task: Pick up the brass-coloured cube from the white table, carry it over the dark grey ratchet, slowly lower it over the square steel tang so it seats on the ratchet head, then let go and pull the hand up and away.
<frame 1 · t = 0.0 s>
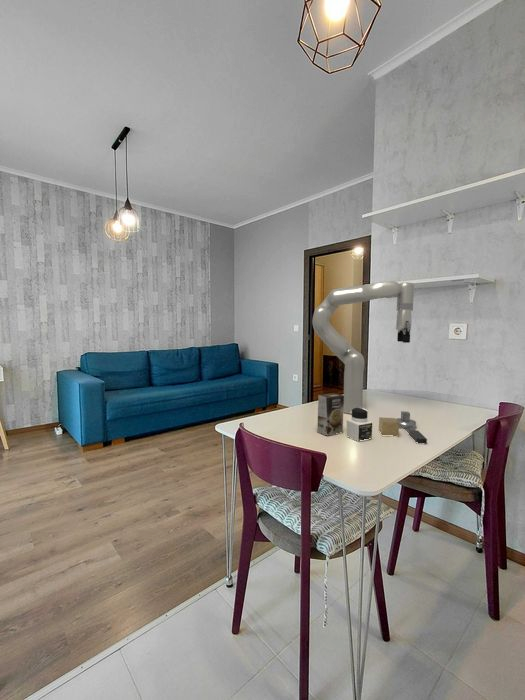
hand: (403, 342, 168), 37 cm above the table, tool pointing down, fingers open, 9 cm apart
brass-coloured cube: (388, 433, 139), on the table
coffee box: (330, 433, 140), on the table
medicine bottle: (358, 438, 134), on the table
ratchet: (404, 426, 150), on the table
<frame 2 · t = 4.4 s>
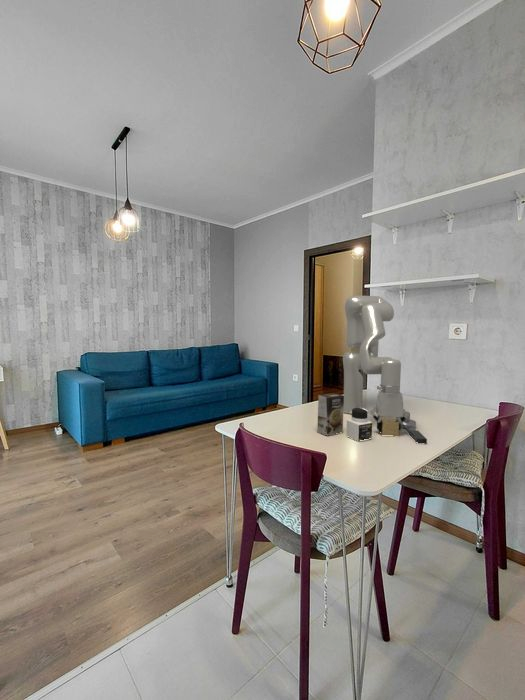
hand: (388, 431, 139), 1 cm above the table, tool pointing down, fingers closed on brass-coloured cube, 6 cm apart
brass-coloured cube: (388, 433, 139), on the table, touching gripper
everything else where it was.
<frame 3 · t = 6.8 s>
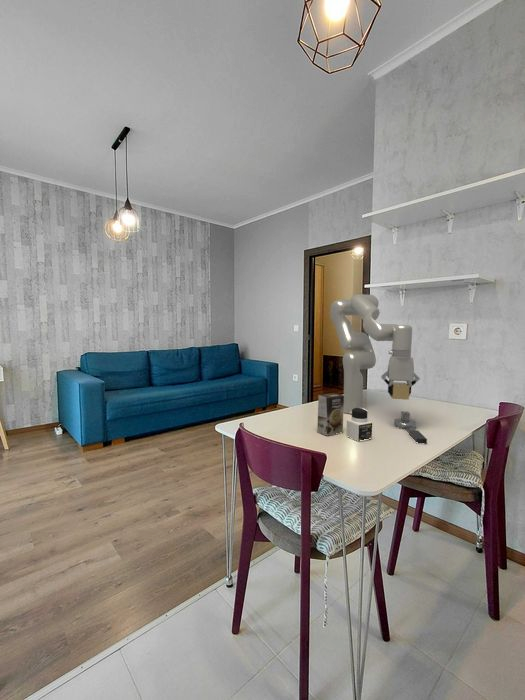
hand: (399, 394, 144), 15 cm above the table, tool pointing down, fingers closed on brass-coloured cube, 6 cm apart
brass-coloured cube: (399, 397, 144), point 14 cm above the table, touching gripper
everything else where it was.
when the fingers open (5 cm above the table, at t = 9.3 s): brass-coloured cube drops 2 cm, resting on ratchet.
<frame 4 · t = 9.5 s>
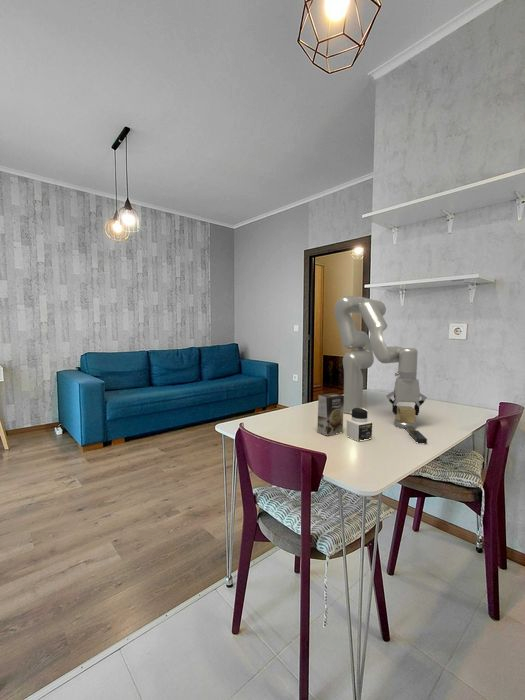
hand: (405, 414, 149), 6 cm above the table, tool pointing down, fingers open, 8 cm apart
brass-coloured cube: (405, 421, 149), point 2 cm above the table, touching ratchet
everything else where it was.
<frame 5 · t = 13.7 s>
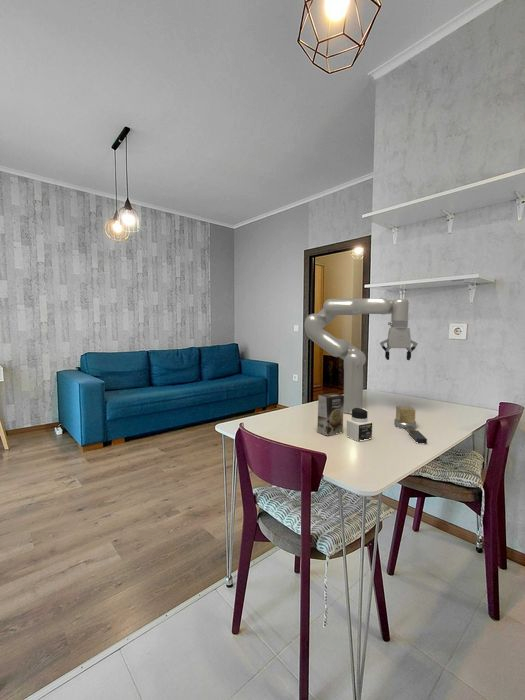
hand: (397, 359, 163), 28 cm above the table, tool pointing down, fingers open, 9 cm apart
nothing on the table moved.
at the end: brass-coloured cube 0.1 cm off-centre on the ratchet, point 2.4 cm above the ratchet's base; brass-coloured cube tilted 0°; the gripper is holding nothing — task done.
